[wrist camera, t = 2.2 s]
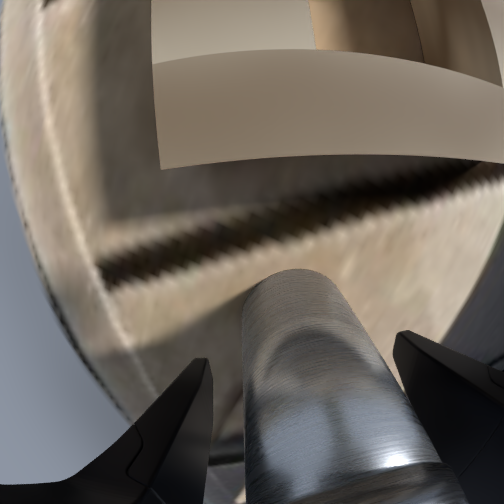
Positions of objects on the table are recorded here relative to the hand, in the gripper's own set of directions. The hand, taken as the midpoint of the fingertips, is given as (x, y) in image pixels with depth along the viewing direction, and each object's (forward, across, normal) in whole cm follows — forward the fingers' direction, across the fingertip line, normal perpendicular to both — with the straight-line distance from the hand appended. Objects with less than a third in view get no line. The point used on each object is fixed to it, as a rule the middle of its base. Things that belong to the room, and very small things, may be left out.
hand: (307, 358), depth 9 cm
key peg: (+2, 0, 0) cm, 2 cm away
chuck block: (+2, -3, -11) cm, 12 cm away
